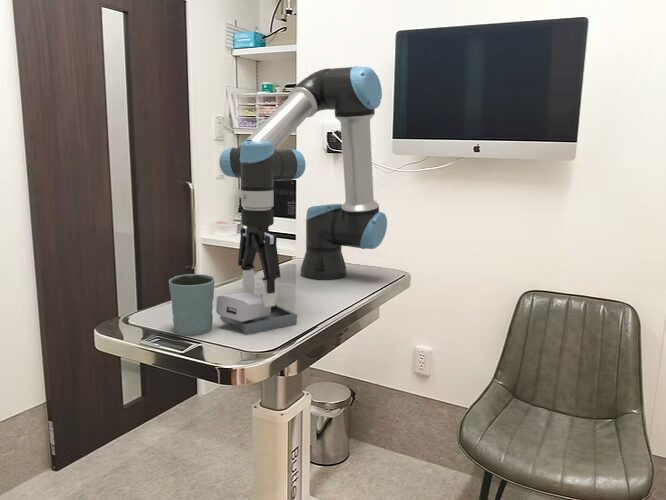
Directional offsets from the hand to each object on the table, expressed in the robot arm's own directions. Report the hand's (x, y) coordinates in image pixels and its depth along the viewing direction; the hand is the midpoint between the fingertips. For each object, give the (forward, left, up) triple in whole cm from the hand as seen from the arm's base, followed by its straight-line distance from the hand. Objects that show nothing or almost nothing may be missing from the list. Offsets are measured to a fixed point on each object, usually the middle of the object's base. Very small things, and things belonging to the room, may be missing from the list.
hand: (258, 300), depth 133 cm
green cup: (+15, -3, -6) cm, 17 cm away
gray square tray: (0, 0, -5) cm, 5 cm away
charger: (+2, 0, -4) cm, 4 cm away
